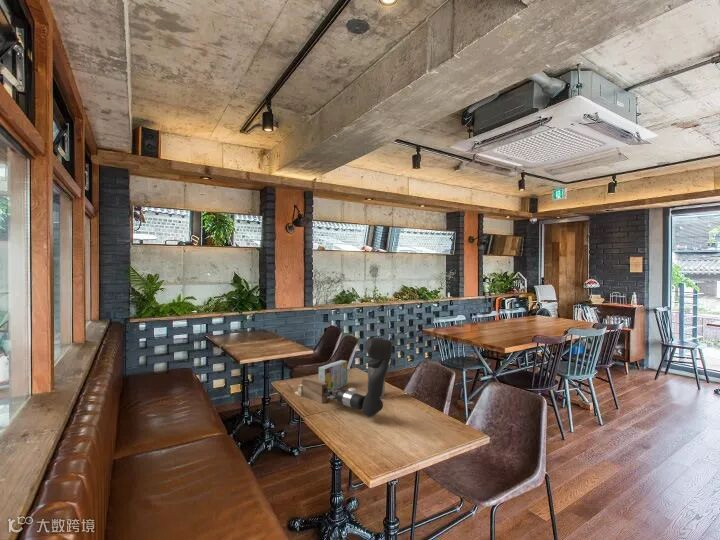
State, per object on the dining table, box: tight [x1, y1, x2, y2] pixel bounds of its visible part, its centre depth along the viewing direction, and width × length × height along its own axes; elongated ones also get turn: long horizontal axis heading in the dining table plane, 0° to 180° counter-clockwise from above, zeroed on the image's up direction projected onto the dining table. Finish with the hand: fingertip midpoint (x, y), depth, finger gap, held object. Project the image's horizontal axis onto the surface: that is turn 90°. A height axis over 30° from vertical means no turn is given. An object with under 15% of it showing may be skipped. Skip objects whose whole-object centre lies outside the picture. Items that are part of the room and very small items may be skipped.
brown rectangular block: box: [301, 377, 328, 404], centre depth 210 cm, size 4×16×10 cm, turn 49°
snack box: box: [318, 359, 348, 390], centre depth 227 cm, size 21×6×15 cm, turn 144°
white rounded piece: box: [347, 387, 358, 394], centre depth 209 cm, size 5×5×6 cm
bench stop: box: [294, 377, 313, 397], centre depth 219 cm, size 11×6×8 cm, turn 139°
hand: (324, 390), depth 205 cm, fingers closed
